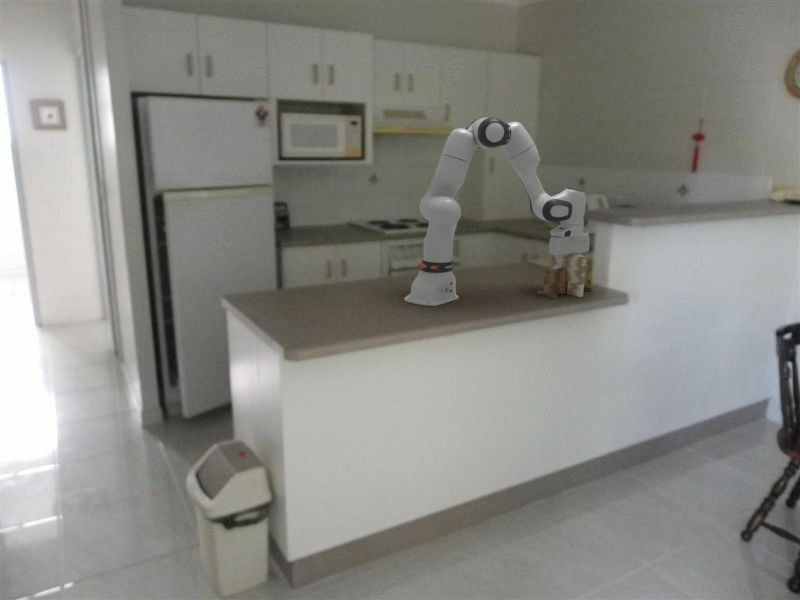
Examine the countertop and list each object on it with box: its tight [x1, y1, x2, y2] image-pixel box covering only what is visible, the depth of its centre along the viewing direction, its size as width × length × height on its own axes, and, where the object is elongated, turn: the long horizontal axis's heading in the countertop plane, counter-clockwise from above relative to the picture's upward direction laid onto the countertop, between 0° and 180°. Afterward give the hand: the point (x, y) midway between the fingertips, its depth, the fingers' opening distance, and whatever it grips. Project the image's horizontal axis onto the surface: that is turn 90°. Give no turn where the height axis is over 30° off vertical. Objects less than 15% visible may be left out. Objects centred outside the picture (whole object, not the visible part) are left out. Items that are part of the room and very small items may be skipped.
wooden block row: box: [536, 264, 594, 300], centre depth 240 cm, size 24×8×10 cm, turn 124°
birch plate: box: [549, 254, 588, 298], centre depth 239 cm, size 16×2×16 cm, turn 34°
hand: (567, 264), depth 238 cm, fingers open, 7 cm apart
